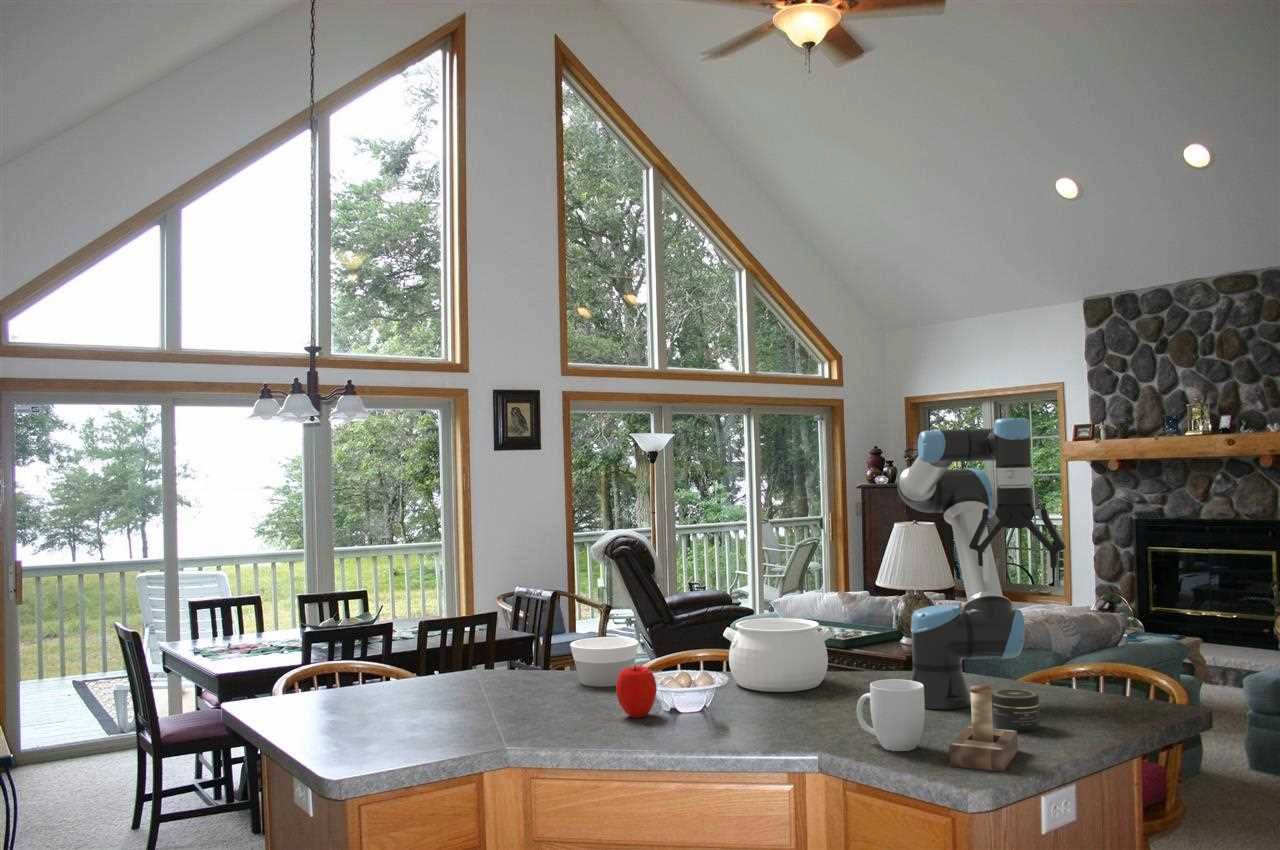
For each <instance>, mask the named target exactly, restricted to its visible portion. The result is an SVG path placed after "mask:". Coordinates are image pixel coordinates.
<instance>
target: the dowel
mask: <svg viewBox="0 0 1280 850" xmlns="http://www.w3.org/2000/svg"><path fill="white" fill-rule="evenodd" d="M969 688H970V689H969V692H970V695H971V704H970V709H971V710H970V711H971V712H970V713H971V727H972V740H974V741H984V742H994V741H993V729H994V721H993V715H992V692H993V689H992V688H993V687H992V686H990V685H985V684H983V685H982V684H976V685H971V686H969Z"/></svg>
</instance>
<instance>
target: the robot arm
mask: <svg viewBox="0 0 1280 850" xmlns="http://www.w3.org/2000/svg"><path fill="white" fill-rule="evenodd" d="M993 425H994V426H993V428H970V429H965V428H964V429H931V430H924V431H921V432H920V433H919V435H918V439H917V452H918V453H917V454H918V456H917V457H916V459H915V460H914V461H913V463H912V465H911V466H908V467H907V468H905V469H904V470H903V471H902V472H901V474H900V475H899V477H898V480H897V487H896V488H897V491H898V495H899V497H900V498H901V500H902V501H903V502H904V504H906V506H909V507H910V508H911V509H913V510H916V511H917V512H921V513H928V514H929V513H930V514H931V513H932V514H933V513H934V514H935V513H937V514H938V513H939V514H940V513H942V515H943V519H944V521H945V522H946V523H947V524H949V525H950V526H951V528H952V532H953V537H954V543H955V548H956V552H957V557H958V562H959V567H960V572H961V575H962V576H961V577H962V580H963V581H962V582H963V587H964V589H965V590H964V591H965V594H966V599H967V601H966V602H965V603H964V605H963V606H962V607H963V608H962V609H961V607H960V606H959V605H957V604H950V603H949V604H937V605H930V606H925V607H922V608H919V609H916V610H915V611H914V612H913V613H912V615H911V626H910V632H911V643H912V644H911V647H912V648H911V650H912V672H911V676H910V679H909V680H910V681H916V682H919V683H922V684H923V685H924V702H925V709H929V710H956V709H957V710H958V709H963V708H967V707H969V706H971V691H970V689H969V687H968V684H967V682H966V679H965V675H964V673H963V660H986V659H987V660H990V659H991V660H997V659H998V660H1003V659H1012V658H1013V659H1014V658H1017V657H1018V656H1020V654H1021V653H1022V650H1023V646H1024V642H1025V636H1026V635H1025V634H1026V632H1025V631H1026V626H1025V625H1026V624H1025V617H1024V613H1023V612H1022V610H1020V609H1017V608H1015V609H1013V606H1012V601H1011V600H1010V599H1009V598H1008V597H1006V596H1004V595H1003V591H1002V586H1001V583H1000V578H999V574H998V570H997V566H996V565H997V564H996V560H995V558H994V557H995V556H994V553H993V549H992V545H991V543H992V542H993V541H994V540H995V539H996V537H997V536H998V535H999V534H1000V532H1002V530H1003V529H1004V528H1007V529H1014V528H1015V529H1018V530H1019V529H1024V528H1027V529H1028V531H1030V532H1031V533H1032V534H1033V535H1034V536H1035V538H1036V539H1037V540H1038V541H1039V542H1040V543H1041V544H1042V545H1043V546H1044V547H1045V549H1046V550H1047V551H1048V552H1046V553H1045V559H1046V582H1047V584H1052V583H1053V581H1054V579H1053V569H1056V568H1057V567H1058V552H1061V551H1064V550H1065V549H1066V545H1065V543H1064V541H1063V540H1062V538H1061V536H1060V534H1059V533H1058V531H1057V529H1056V528H1055V525H1054V523H1053V522H1052V520H1051V518H1050V515H1049V509H1048V508H1047V507H1044V508H1040V509H1035V508H1034V506H1033V488H1032V487H1030V486H1031V485H1032V484H1033V479H1032V458H1031V457H1032V455H1031V436H1032V435H1031V429H1030V422H1029V420H1028V419H1027V418H1025V417H1013V418H1012V417H1008V418H997V419H996V420H995V421H994V424H993ZM988 461H992V462H995V475H996V477H995V478H996V479H995V480H996V481H995V482H996V484H995V485H997V486H999V487H998V488H997V489H996V509H992V508H993V506H994V505H993V504H994V495H993V492H994V491H993V486H992V483H991V480H990V479H989V476H988V474H987V473H986V472H985V471H984V470H982V469H980V468H969V467H964V468H954V469H951V468H949V467H950V466H951V465H952V464H953V462H954V463H955V462H988ZM994 515H995V516H996V518H997V519H998V521H999V522H997V523H996V525H995V527H994V528H993V529H992V530H991V531H990V532H989V531H988V527H987V525H989V524H988V523H989V521H990V519H992V518H993V517H994ZM1035 515H1036V516H1037V517H1038V518H1039V519H1040V520H1042V522H1043V524H1044V526H1045V528H1046V530H1047V531H1048V533H1049V536H1050V537H1051V538H1052V540H1053V542H1054V544H1055V545H1054V544H1053V543H1052V542H1051V541H1050V539H1049V538H1047V537H1046V535H1045V534H1044V533H1043V532H1042V531H1041V529H1039V527H1038V526H1037V525H1036V524H1035V522H1034V521H1032V520H1033V518H1034V517H1035Z"/></svg>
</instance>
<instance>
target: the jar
mask: <svg viewBox="0 0 1280 850" xmlns="http://www.w3.org/2000/svg"><path fill="white" fill-rule="evenodd" d="M992 717H993V726H995V728H996V729H1003V730H1013V731H1017V733H1031V732H1036V730H1037V729H1038V728H1039V725H1040V698H1039V694H1038V693H1037V692H1035V691H1032V690H1028V689H1022V688H1021V689H1020V688H1000V689H999V688H998V689H995V690H994V691H993V690H992Z"/></svg>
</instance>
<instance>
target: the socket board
mask: <svg viewBox="0 0 1280 850" xmlns="http://www.w3.org/2000/svg"><path fill="white" fill-rule="evenodd" d="M993 741H994V742H984V741H974V740H972V725H971V726H969V725H967V726H965V728H963V730H962V731H961V732H960V733H959V734H958V735H957V736H956V737H955V738H954V739H953V740H952V742H950V743H949V745H948V746H949V747H948V750H949V753H948V754H949V766H951V767H959V768H967V769H976V770H984V771H985V770H986V771H992V772H993V771H994V772H1004V771H1005V770H1006V768H1007V767H1008V766H1009V764H1010V763H1011V761H1012V759H1014V757H1015V756H1016V754H1017V753H1018V751H1019V750H1018V749H1019V746H1018V745H1019V743H1018V732H1017V731H1013V730H1003V729H998V728H993Z"/></svg>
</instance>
